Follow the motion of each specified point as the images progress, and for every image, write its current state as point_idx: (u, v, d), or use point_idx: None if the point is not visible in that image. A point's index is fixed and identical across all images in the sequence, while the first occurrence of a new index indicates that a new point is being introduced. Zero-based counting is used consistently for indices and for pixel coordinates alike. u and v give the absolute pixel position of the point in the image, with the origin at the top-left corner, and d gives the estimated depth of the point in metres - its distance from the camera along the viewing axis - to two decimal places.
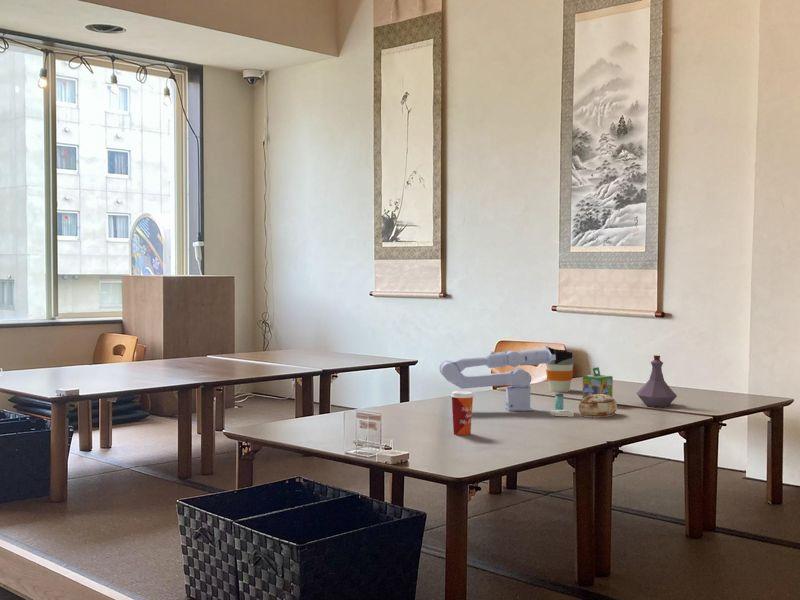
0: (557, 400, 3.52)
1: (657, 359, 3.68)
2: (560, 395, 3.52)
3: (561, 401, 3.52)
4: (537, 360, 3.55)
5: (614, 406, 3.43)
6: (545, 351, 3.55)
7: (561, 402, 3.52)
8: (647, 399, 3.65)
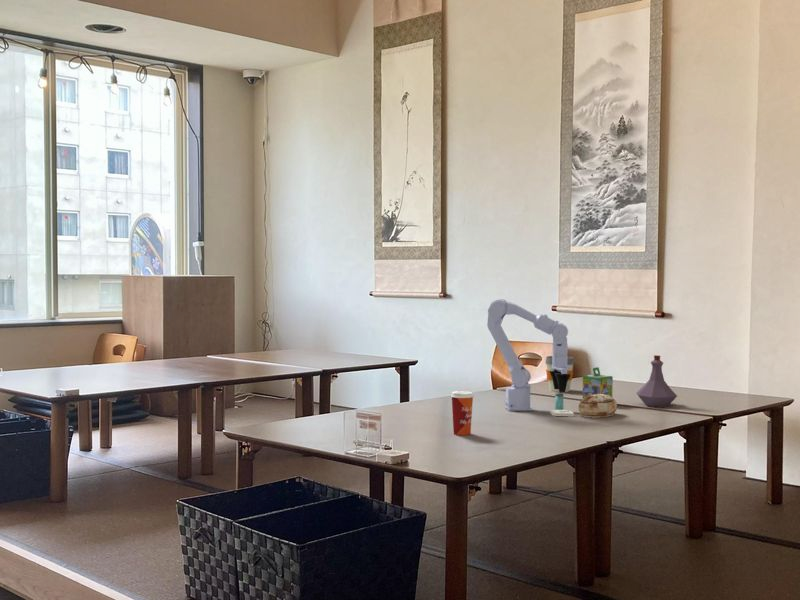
0: (557, 400, 3.52)
1: (657, 359, 3.68)
2: (560, 395, 3.52)
3: (561, 401, 3.52)
4: (558, 356, 3.50)
5: (614, 406, 3.43)
6: (566, 365, 3.51)
7: (561, 402, 3.52)
8: (647, 399, 3.65)
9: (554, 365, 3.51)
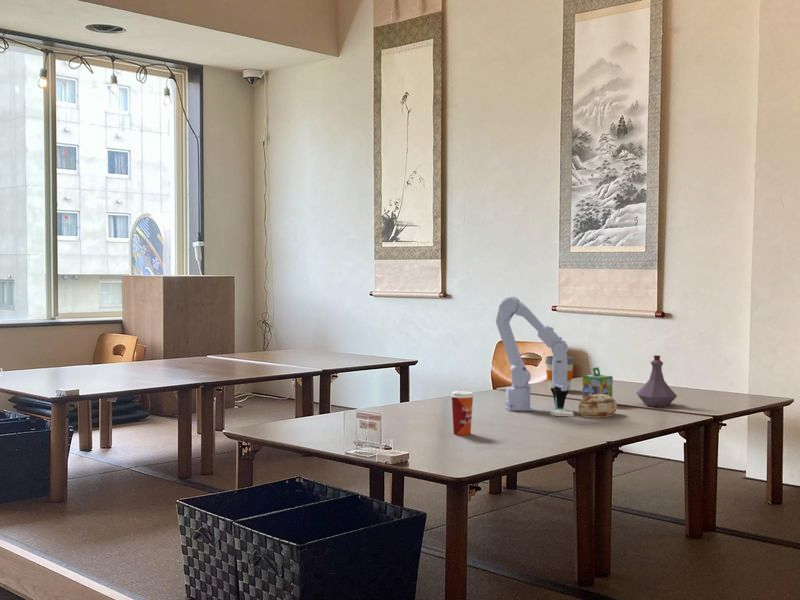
0: None
1: (657, 359, 3.68)
2: None
3: None
4: (558, 373, 3.50)
5: (614, 406, 3.42)
6: (566, 382, 3.51)
7: None
8: (647, 399, 3.65)
9: (554, 382, 3.52)
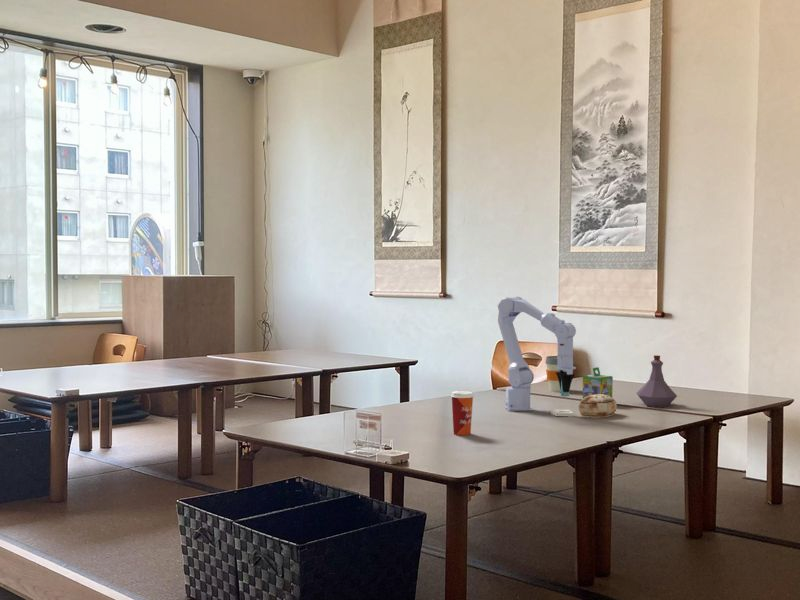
0: None
1: (657, 359, 3.68)
2: None
3: None
4: (564, 356, 3.42)
5: (614, 406, 3.42)
6: (571, 365, 3.43)
7: None
8: (647, 399, 3.65)
9: (559, 365, 3.43)
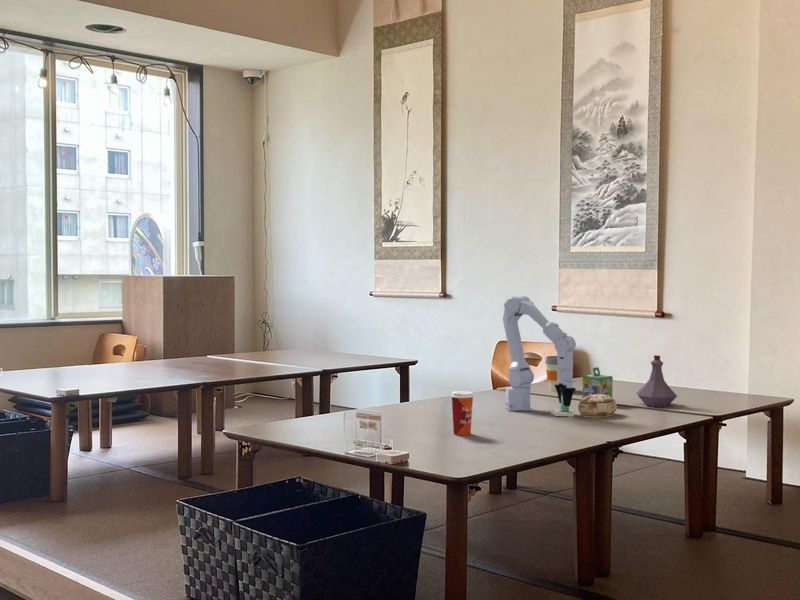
0: (562, 400, 3.44)
1: (657, 359, 3.68)
2: None
3: None
4: (563, 370, 3.42)
5: (614, 406, 3.42)
6: (571, 379, 3.43)
7: None
8: (647, 399, 3.65)
9: (559, 379, 3.43)
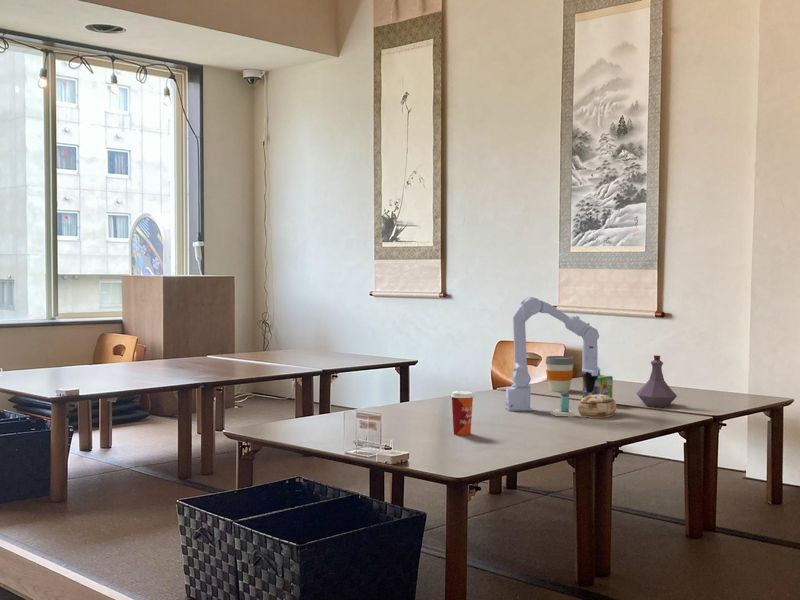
0: (562, 400, 3.44)
1: (657, 359, 3.68)
2: (566, 395, 3.44)
3: (567, 401, 3.44)
4: (589, 358, 3.53)
5: (613, 406, 3.42)
6: (596, 367, 3.54)
7: (567, 402, 3.44)
8: (647, 399, 3.65)
9: (584, 367, 3.55)
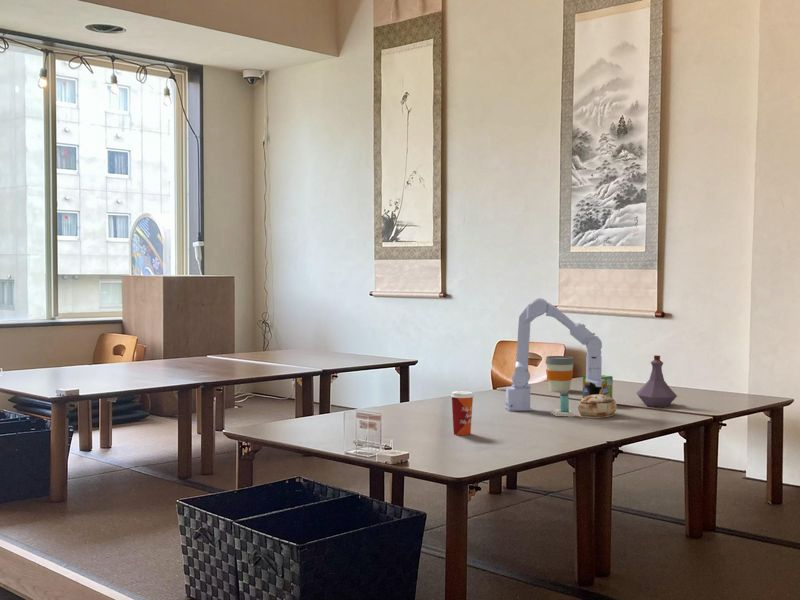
0: (561, 400, 3.44)
1: (657, 359, 3.68)
2: (565, 395, 3.44)
3: (566, 401, 3.44)
4: (592, 369, 3.48)
5: (613, 406, 3.41)
6: (600, 378, 3.49)
7: (566, 402, 3.44)
8: (647, 399, 3.65)
9: (588, 378, 3.49)
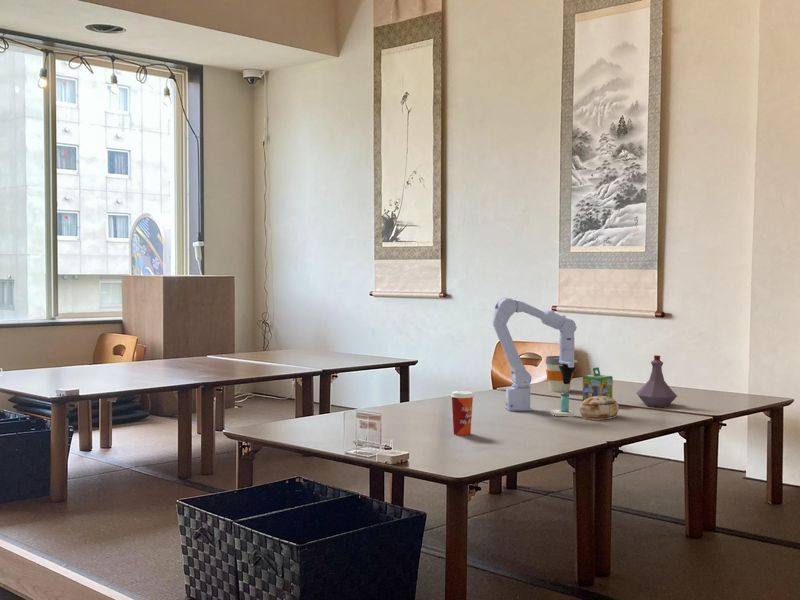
0: (561, 400, 3.44)
1: (657, 359, 3.68)
2: (565, 395, 3.44)
3: (566, 401, 3.44)
4: (565, 350, 3.55)
5: (616, 408, 3.38)
6: (573, 359, 3.56)
7: (566, 402, 3.44)
8: (647, 399, 3.65)
9: (561, 359, 3.56)
